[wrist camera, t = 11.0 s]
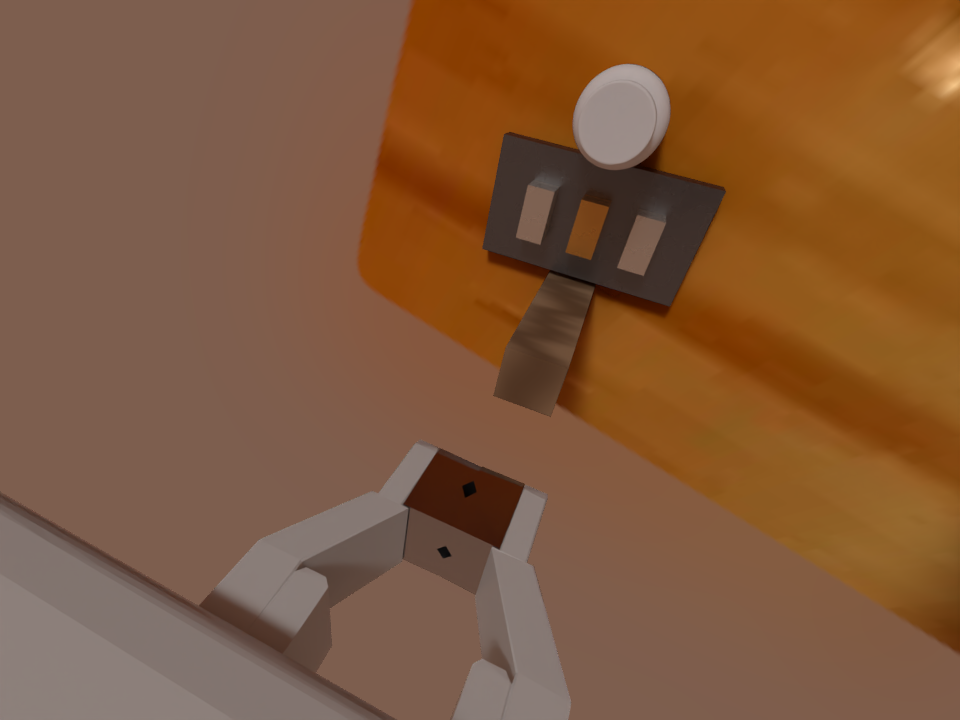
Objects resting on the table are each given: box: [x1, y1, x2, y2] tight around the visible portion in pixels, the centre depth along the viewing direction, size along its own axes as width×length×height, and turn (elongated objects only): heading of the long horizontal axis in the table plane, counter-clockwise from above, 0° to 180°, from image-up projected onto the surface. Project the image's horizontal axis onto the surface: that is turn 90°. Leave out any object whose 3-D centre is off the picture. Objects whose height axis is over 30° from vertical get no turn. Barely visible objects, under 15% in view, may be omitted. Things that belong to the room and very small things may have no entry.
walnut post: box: [493, 270, 596, 417], centre depth 34 cm, size 4×4×14 cm
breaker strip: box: [482, 132, 726, 307], centre depth 34 cm, size 16×9×4 cm, turn 79°
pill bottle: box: [573, 64, 670, 170], centre depth 27 cm, size 5×5×10 cm
